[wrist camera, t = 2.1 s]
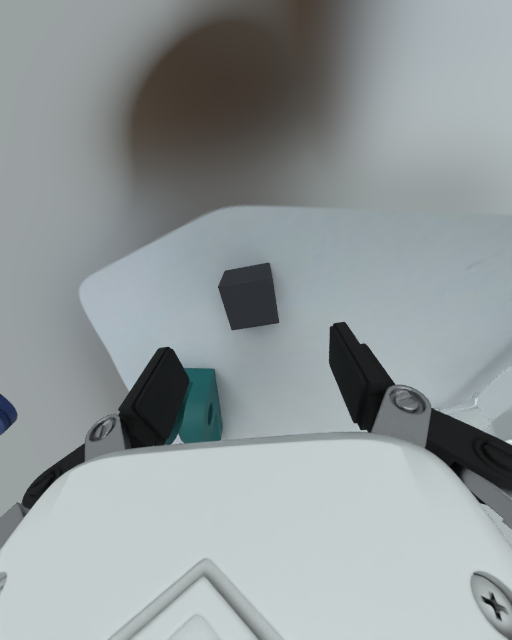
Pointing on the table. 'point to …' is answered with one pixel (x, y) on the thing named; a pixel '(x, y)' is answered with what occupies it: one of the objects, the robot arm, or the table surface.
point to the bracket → (199, 410)
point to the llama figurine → (493, 406)
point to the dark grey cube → (249, 296)
